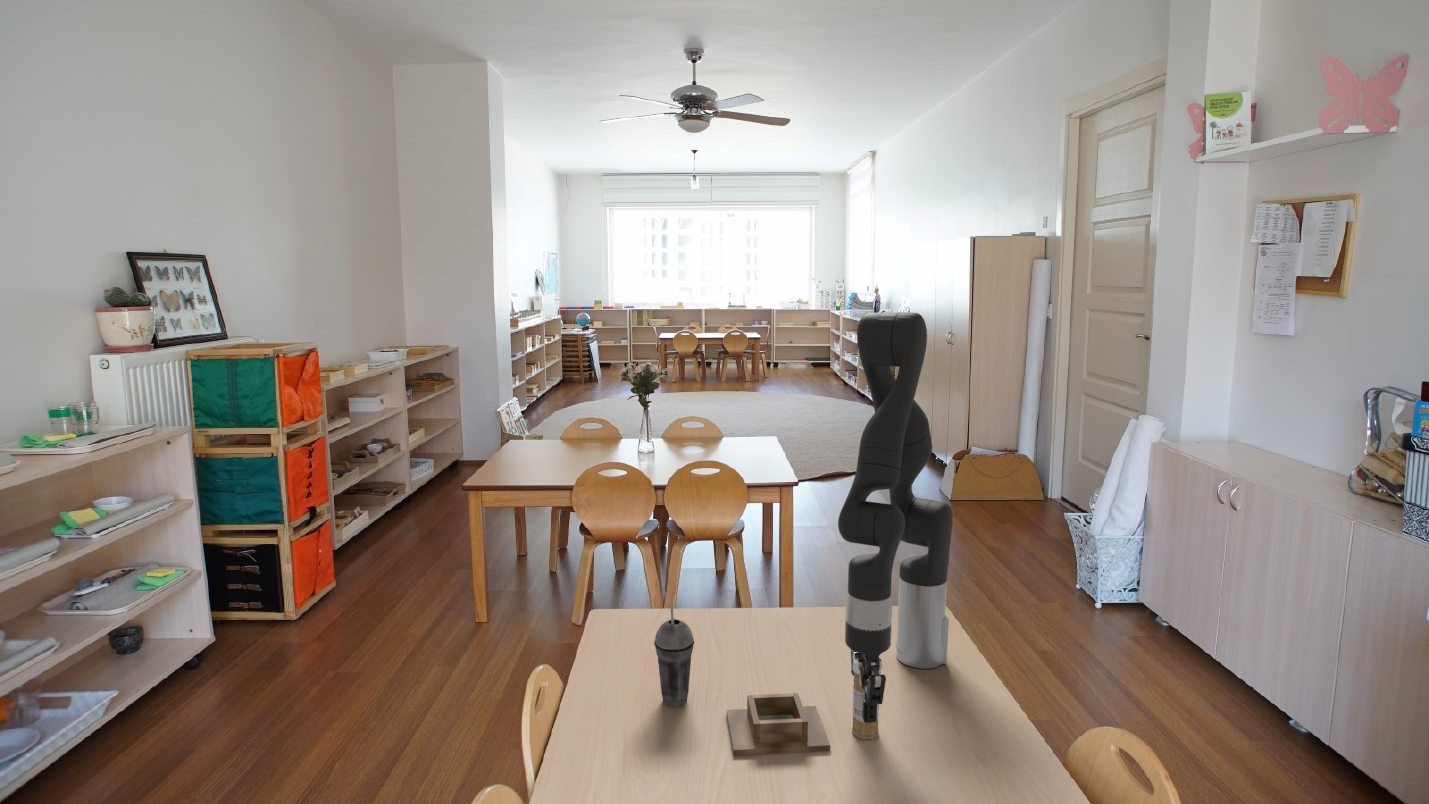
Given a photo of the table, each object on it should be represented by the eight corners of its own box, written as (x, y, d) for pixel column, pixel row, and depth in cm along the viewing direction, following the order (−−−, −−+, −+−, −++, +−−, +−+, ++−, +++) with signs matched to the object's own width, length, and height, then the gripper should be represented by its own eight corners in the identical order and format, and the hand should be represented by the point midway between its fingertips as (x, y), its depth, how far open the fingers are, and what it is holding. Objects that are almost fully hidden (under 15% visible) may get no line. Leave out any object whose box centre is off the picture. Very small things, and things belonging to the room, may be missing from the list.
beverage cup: (700, 694, 150) (699, 592, 146) (686, 714, 143) (685, 608, 140) (664, 687, 152) (662, 587, 149) (648, 707, 145) (646, 603, 142)
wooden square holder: (815, 711, 144) (815, 687, 143) (830, 750, 132) (830, 725, 131) (726, 715, 143) (726, 691, 142) (733, 755, 131) (733, 730, 130)
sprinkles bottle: (884, 735, 137) (886, 661, 134) (864, 744, 134) (866, 669, 132) (865, 722, 140) (867, 650, 138) (845, 731, 138) (847, 657, 136)
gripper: (903, 637, 127) (899, 736, 130) (878, 600, 141) (875, 690, 144) (857, 639, 126) (854, 738, 129) (836, 601, 140) (834, 692, 143)
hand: (865, 712), depth 137 cm, fingers closed on sprinkles bottle, 4 cm apart
